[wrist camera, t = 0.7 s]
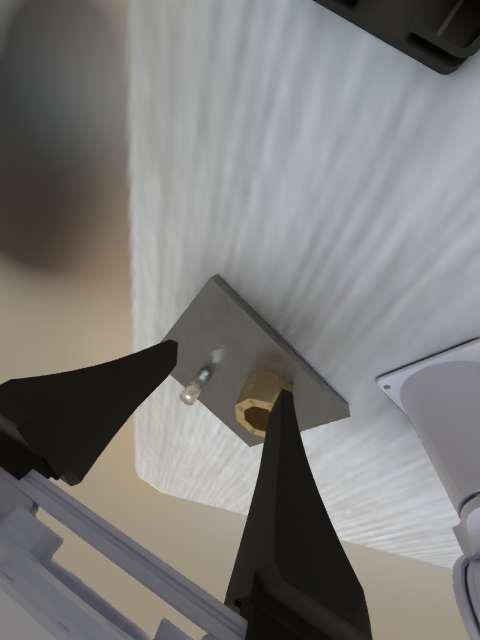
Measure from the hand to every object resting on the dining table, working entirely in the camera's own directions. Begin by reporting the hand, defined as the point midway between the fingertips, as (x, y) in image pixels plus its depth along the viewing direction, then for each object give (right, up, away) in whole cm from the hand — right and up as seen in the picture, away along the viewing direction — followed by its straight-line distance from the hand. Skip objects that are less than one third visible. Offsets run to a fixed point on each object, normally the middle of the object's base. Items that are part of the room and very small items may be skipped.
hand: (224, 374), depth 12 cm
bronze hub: (+4, -4, +9) cm, 11 cm away
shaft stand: (+1, -3, +12) cm, 13 cm away
